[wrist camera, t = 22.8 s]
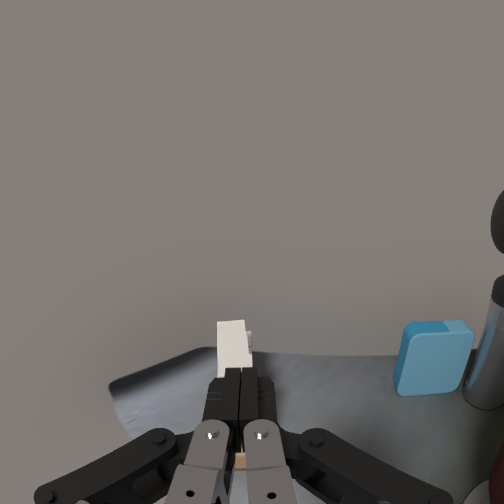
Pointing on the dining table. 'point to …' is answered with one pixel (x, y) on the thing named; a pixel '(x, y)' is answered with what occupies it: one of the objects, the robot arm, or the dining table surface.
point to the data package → (432, 357)
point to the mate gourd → (490, 485)
